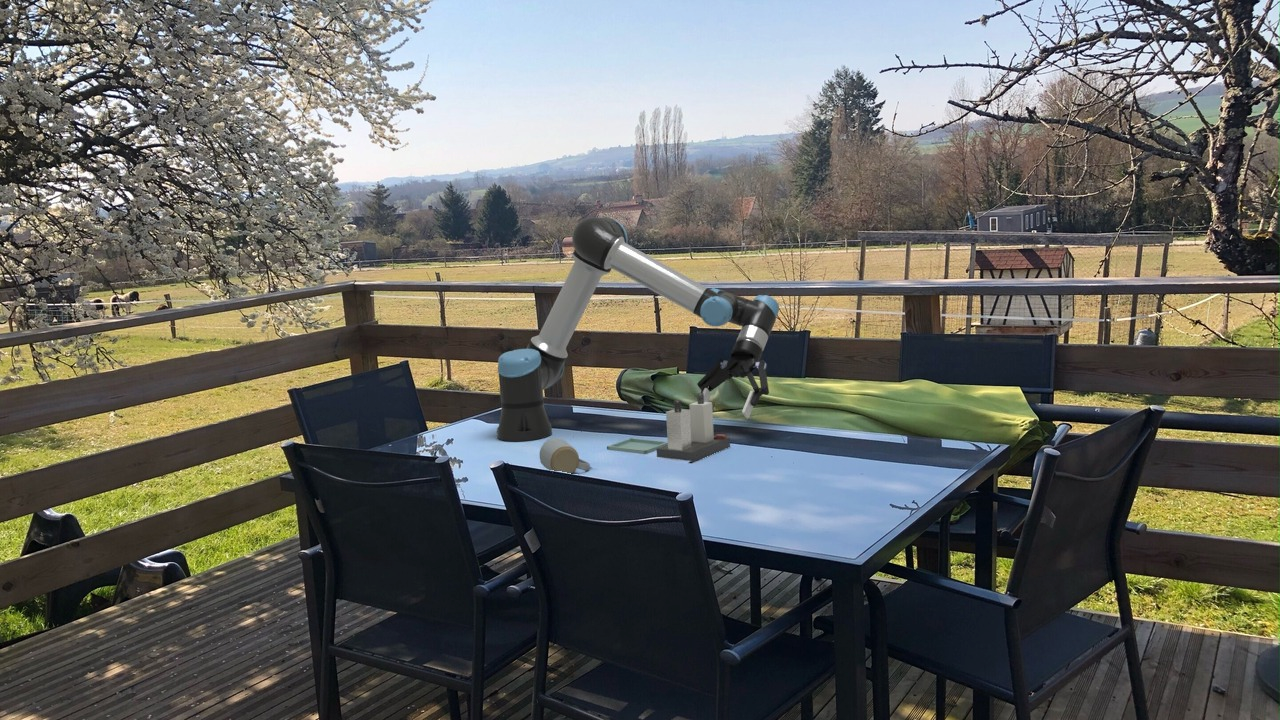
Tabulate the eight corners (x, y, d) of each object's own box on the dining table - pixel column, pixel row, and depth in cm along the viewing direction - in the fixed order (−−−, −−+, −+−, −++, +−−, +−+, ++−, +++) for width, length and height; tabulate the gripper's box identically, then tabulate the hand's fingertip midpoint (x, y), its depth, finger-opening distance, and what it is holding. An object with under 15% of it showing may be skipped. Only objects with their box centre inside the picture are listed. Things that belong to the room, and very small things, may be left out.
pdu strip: (657, 458, 212) (653, 401, 210) (695, 443, 225) (693, 389, 224) (692, 463, 206) (689, 404, 204) (730, 447, 219) (727, 391, 218)
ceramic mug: (551, 479, 199) (549, 446, 198) (539, 472, 206) (538, 439, 205) (595, 473, 203) (594, 440, 202) (582, 465, 210) (581, 433, 209)
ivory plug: (691, 448, 218) (688, 394, 217) (700, 444, 222) (697, 391, 220) (705, 449, 216) (702, 395, 214) (714, 446, 219) (711, 392, 217)
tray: (607, 451, 222) (606, 446, 222) (631, 443, 230) (630, 437, 230) (645, 456, 215) (645, 450, 215) (669, 447, 223) (669, 442, 223)
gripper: (797, 356, 230) (771, 425, 220) (715, 354, 245) (687, 418, 235) (786, 339, 225) (759, 408, 215) (703, 337, 240) (674, 402, 230)
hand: (721, 413), depth 225 cm, fingers open, 13 cm apart
